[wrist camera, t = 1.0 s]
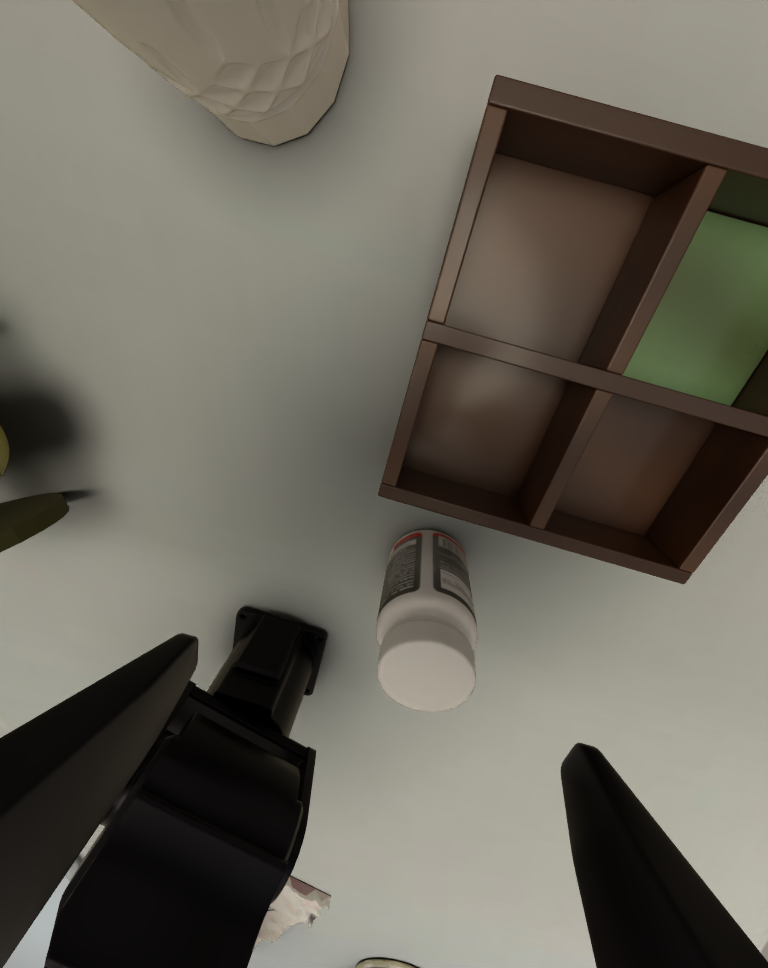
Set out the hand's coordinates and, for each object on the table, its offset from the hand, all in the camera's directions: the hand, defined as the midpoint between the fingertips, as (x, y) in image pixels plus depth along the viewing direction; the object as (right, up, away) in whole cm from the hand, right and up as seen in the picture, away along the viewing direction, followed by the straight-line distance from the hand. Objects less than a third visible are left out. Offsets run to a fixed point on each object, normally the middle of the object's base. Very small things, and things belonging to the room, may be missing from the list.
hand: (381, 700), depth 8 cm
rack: (+9, +10, +9) cm, 16 cm away
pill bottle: (+3, 0, +14) cm, 14 cm away
